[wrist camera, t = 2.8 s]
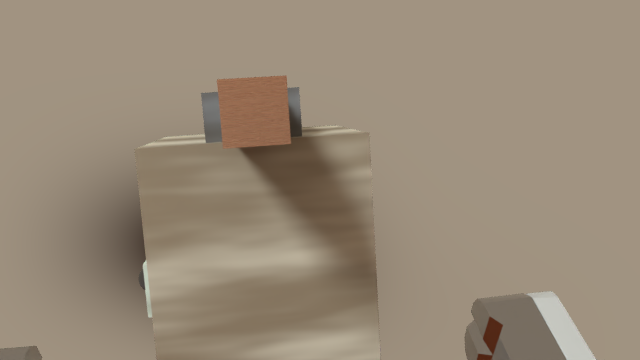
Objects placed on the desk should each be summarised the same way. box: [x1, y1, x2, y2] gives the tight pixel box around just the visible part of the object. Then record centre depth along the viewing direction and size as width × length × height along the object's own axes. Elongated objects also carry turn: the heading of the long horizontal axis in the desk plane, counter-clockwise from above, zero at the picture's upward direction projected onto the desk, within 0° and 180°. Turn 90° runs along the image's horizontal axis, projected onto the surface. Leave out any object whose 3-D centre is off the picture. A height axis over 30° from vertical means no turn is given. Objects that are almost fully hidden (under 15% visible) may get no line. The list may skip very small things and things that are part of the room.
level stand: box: [135, 87, 381, 360], centre depth 37 cm, size 16×16×29 cm
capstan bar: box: [217, 76, 291, 149], centre depth 31 cm, size 20×2×2 cm, turn 7°
